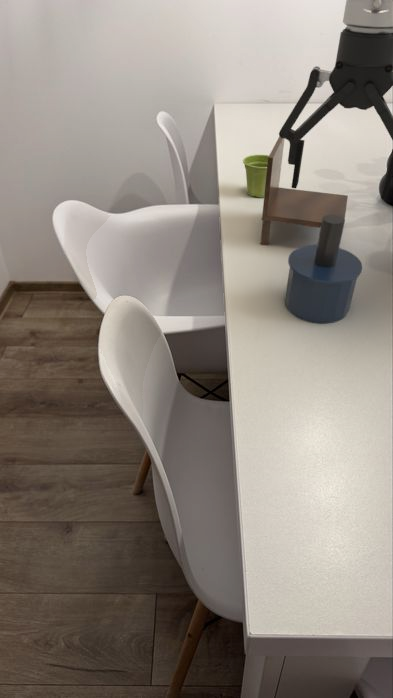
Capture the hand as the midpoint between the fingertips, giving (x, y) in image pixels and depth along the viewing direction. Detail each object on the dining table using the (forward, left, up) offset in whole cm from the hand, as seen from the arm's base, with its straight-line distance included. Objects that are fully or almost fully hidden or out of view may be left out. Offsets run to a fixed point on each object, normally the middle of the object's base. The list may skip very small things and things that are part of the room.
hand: (338, 190), depth 76 cm
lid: (0, 0, -13) cm, 13 cm away
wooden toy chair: (+6, -28, -22) cm, 36 cm away
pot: (0, 0, -22) cm, 22 cm away
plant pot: (+20, -48, -22) cm, 56 cm away
